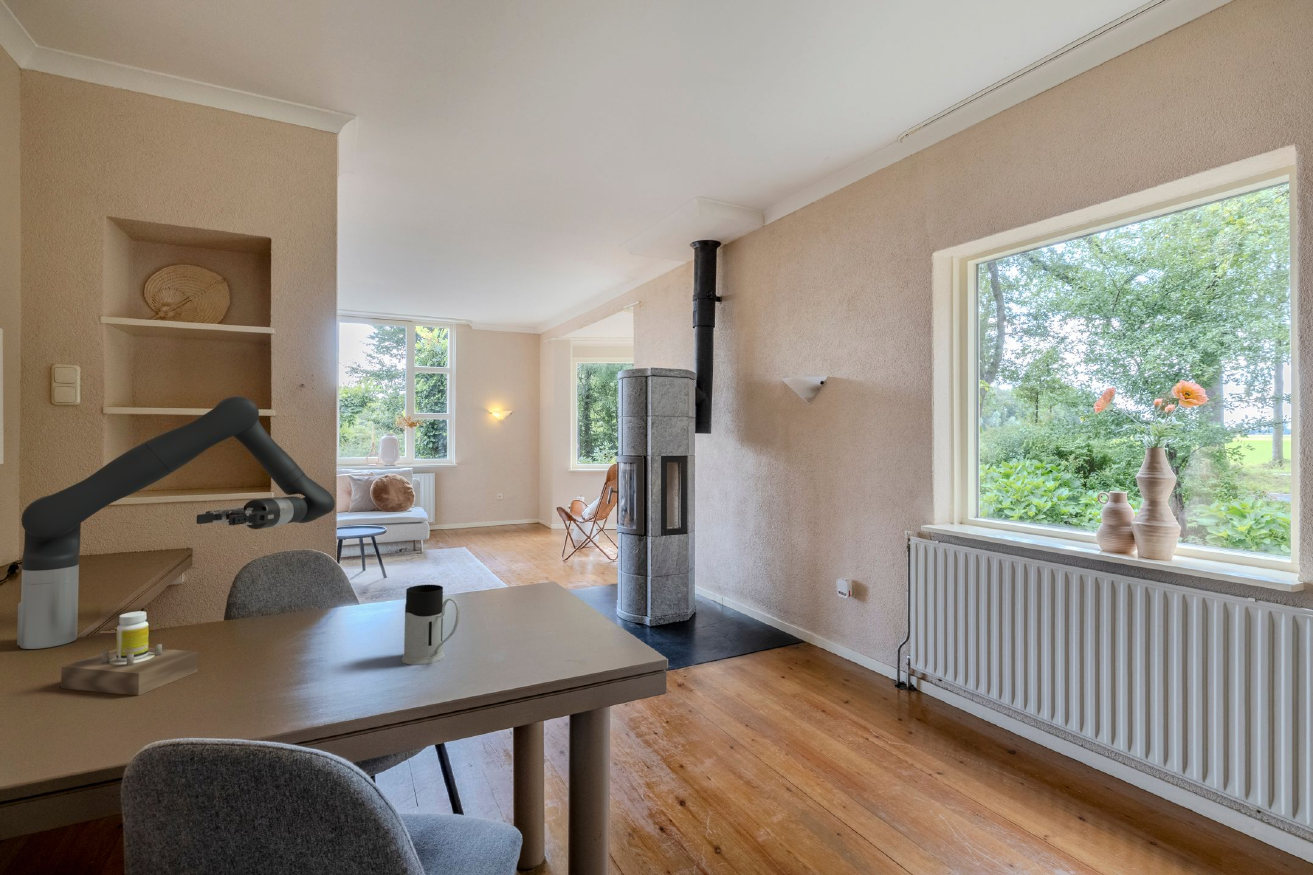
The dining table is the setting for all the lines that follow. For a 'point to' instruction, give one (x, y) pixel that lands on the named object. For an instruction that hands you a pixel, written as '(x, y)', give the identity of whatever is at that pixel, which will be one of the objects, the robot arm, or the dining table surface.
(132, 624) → the supplement bottle
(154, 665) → the seat block
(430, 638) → the glass holder
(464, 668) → the dining table surface
